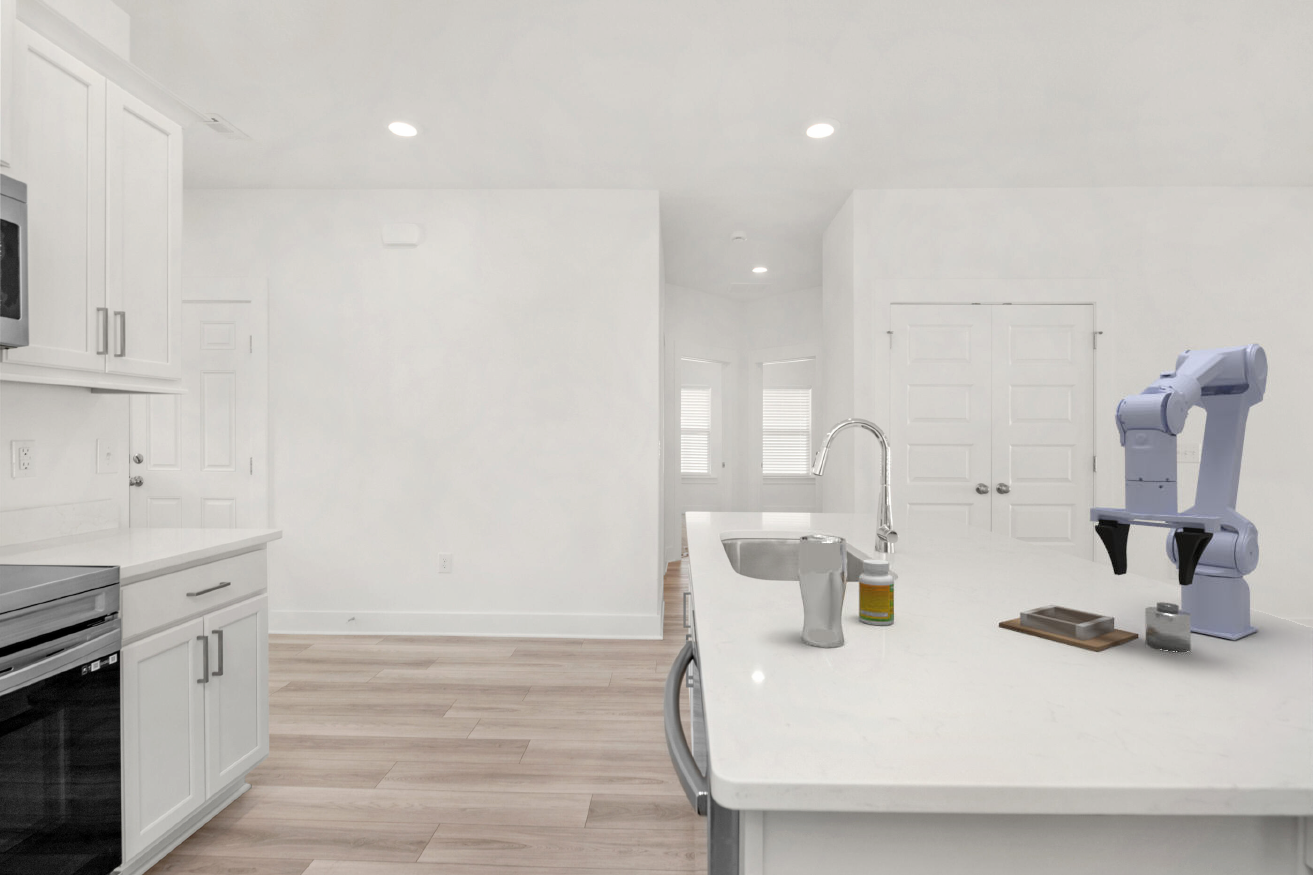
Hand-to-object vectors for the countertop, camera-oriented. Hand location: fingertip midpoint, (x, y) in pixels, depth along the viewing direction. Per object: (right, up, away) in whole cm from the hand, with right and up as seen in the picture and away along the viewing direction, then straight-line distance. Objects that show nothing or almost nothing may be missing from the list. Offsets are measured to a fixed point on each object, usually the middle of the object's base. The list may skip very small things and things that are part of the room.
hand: (1151, 579), depth 88 cm
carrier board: (-6, -10, +9) cm, 15 cm away
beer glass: (-44, -10, +5) cm, 46 cm away
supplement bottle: (-33, -11, +15) cm, 38 cm away
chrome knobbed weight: (+4, -10, +2) cm, 11 cm away
